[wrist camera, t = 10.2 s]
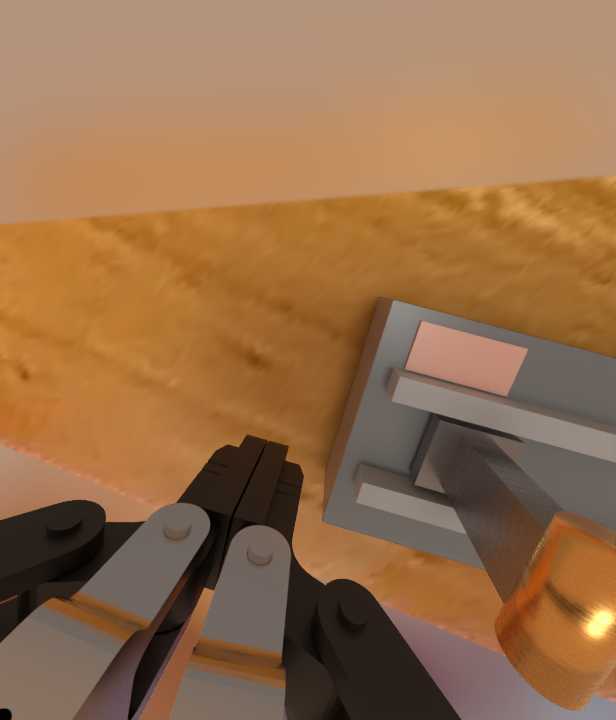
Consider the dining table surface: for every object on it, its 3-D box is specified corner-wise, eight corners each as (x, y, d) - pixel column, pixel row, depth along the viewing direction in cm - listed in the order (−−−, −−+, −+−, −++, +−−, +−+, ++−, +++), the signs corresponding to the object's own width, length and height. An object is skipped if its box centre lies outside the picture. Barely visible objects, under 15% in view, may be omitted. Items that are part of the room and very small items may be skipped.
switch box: (698, 380, 18) (899, 431, 12) (594, 546, 21) (705, 658, 15) (379, 297, 19) (400, 301, 12) (325, 470, 22) (320, 545, 15)
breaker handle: (514, 429, 14) (749, 616, 6) (482, 496, 15) (648, 734, 7) (434, 408, 15) (561, 562, 6) (408, 475, 16) (487, 684, 7)
